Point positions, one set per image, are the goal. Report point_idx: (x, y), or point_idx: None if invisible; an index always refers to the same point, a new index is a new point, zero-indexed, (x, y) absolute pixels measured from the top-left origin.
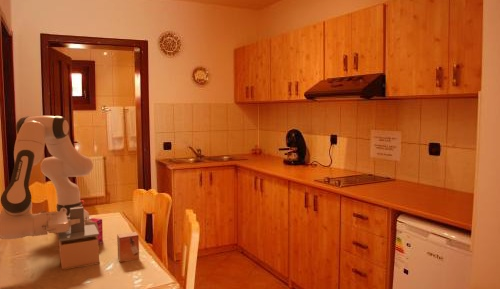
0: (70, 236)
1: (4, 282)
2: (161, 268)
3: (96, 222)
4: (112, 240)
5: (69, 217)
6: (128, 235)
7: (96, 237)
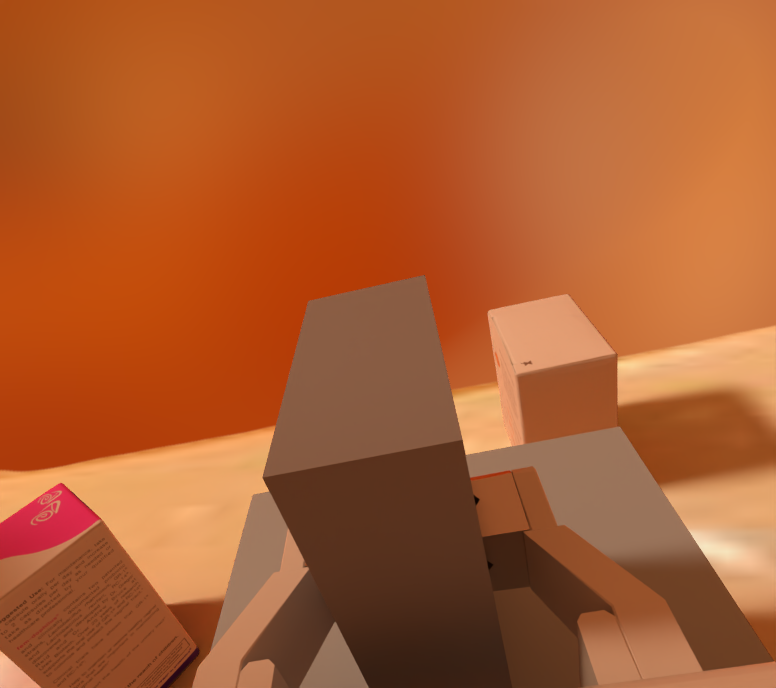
0: None
1: None
2: (726, 338)
3: (101, 520)
4: (178, 546)
5: (281, 680)
6: (569, 323)
7: None
